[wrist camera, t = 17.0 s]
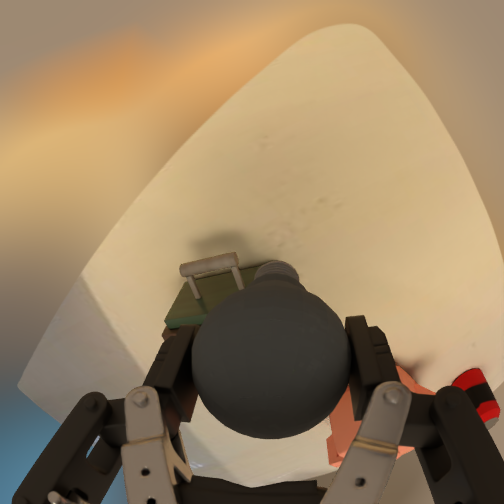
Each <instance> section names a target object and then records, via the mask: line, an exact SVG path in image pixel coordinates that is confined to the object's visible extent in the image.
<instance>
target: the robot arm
mask: <svg viewBox="0 0 504 504" xmlns="http://www.w3.org/2000/svg"><path fill="white" fill-rule="evenodd" d="M199 329H200V326H199V325H198V324H182V325H180V327H179V329H178V331H177V333H176V336H170V337H169V338H168V339H167V340H165V341H164V342H163V343H162V345H161V347H160V350H159V352H158V354H157V356H156V358H155V361H154V362H153V364H152V366H151V368H150V370H149V372H148V375H147V377H146V379H145V381H144V383H143V385H142V386H139V387H136V388H134V389H133V390H131V391H130V392H129V393H128V394H127V395H126V397H125V398H123V399H114V400H107V398H106V397H105V396H104V395H103V394H102V393H100V392H90V393H88V394H86V395H84V396H83V397H82V398H81V399H80V401H79V402H78V403H77V405H76V406H75V407H74V409H73V410H72V411H71V413H70V414H69V415H68V417H67V418H66V420H65V421H64V422H63V424H62V425H61V426H60V428H59V429H58V431H57V432H56V433H55V435H54V436H53V438H52V439H51V441H50V442H49V443H48V445H47V446H46V448H45V449H44V451H43V452H42V453H41V455H40V456H39V458H38V459H37V461H36V462H35V464H34V465H33V467H32V468H31V470H30V471H29V473H28V474H27V476H26V477H25V478H24V480H23V481H22V483H21V485H20V486H19V488H18V489H17V491H16V492H15V494H14V496H13V498H12V504H100V503H101V502H102V500H103V498H104V496H105V495H106V493H107V491H108V489H109V487H110V486H111V484H112V482H113V480H114V478H115V477H116V475H117V473H118V471H119V469H120V468H121V466H122V465H123V473H124V481H125V488H126V495H127V501H128V504H378V503H379V501H380V499H381V497H382V494H383V492H384V490H385V487H386V485H387V482H388V480H389V477H390V474H391V472H392V469H393V466H394V464H395V461H396V458H397V455H398V446H407V447H414V448H415V451H416V453H417V456H418V458H419V461H420V464H421V466H422V469H423V472H424V474H425V477H426V480H427V483H428V485H429V488H430V491H431V494H432V497H433V499H434V503H435V504H504V461H503V459H502V457H501V455H500V453H499V451H498V449H497V447H496V445H495V443H494V441H493V439H492V437H491V435H490V433H489V432H488V430H487V428H486V426H485V424H484V422H483V421H482V419H481V417H480V415H479V414H478V412H477V410H476V408H475V407H474V405H473V403H472V402H471V400H470V398H469V397H468V395H467V394H466V392H465V391H464V390H463V389H461V388H459V387H456V386H445V387H443V388H441V389H440V390H438V391H437V393H436V394H435V395H429V394H418V393H414V392H412V391H410V390H409V388H408V387H407V386H406V385H404V384H403V383H402V382H401V380H400V377H399V374H398V371H397V368H396V365H395V362H394V359H393V356H392V353H391V350H390V347H389V345H388V342H387V339H386V336H385V334H384V333H383V332H382V331H381V330H380V329H379V328H378V327H377V326H373V327H368V325H367V322H366V319H365V316H364V315H360V316H350V317H346V320H345V331H346V334H347V336H348V339H349V342H350V345H351V351H352V360H351V372H350V380H349V388H350V395H351V401H352V408H353V415H354V421H361V420H362V422H361V425H360V427H359V429H358V432H357V434H356V436H355V438H354V439H353V441H352V442H351V444H350V446H349V449H348V451H347V453H346V455H345V457H344V459H343V461H342V463H341V465H340V467H339V469H338V471H337V473H336V475H335V477H334V479H333V481H332V483H331V484H330V486H329V488H328V489H327V488H324V487H318V486H317V480H312V481H285V482H280V483H276V484H271V485H266V486H260V487H254V488H250V487H246V486H242V485H239V484H236V483H232V482H229V481H226V480H223V479H219V478H210V477H202V476H195V475H194V474H193V472H192V470H191V468H190V465H189V462H188V458H187V455H186V451H185V447H184V444H183V440H182V436H181V432H180V430H179V426H180V423H181V422H190V421H191V418H192V414H193V411H194V407H195V404H196V401H197V397H198V392H197V390H196V387H195V385H194V383H193V378H192V346H193V342H194V338H195V337H196V335H197V333H198V331H199ZM98 435H99V436H100V438H99V440H98V442H97V443H96V445H95V446H94V448H93V449H92V451H91V453H90V454H89V456H88V457H87V459H86V454H87V452H88V450H89V449H90V447H91V446H92V444H93V442H94V441H95V439H96V438H97V436H98Z"/></svg>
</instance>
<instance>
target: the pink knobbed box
mask: <svg viewBox="0 0 504 504" xmlns="http://www.w3.org/2000/svg"><path fill="white" fill-rule="evenodd" d="M396 368H397V371H398V374H399V377H400V380H401V382H402V383H403V384H404V385H406V386H407V387H408V388H409V390H410V391H412V392H414V393H418V394H429V395H435V394H436V393H434V392H432V391H430V390H428V389H426V388H424V387H422V386H420V385H418V384H417V383H416V382H415V381H414V380H413V379H412V378H411V377H410V376H409V375H408V374H407V373H406V372H405V371H404V370H403V369H402V368H401V367H399V366H396ZM361 422H362V420H361V421H354V415H353V408H352V401H351V395H350V388H349V387H347V389H346V391H345V393H344V394H343V396H342V398H341V399H340V401H339V402H338V404H337V406H336V407H335V409H334V410H333V412H332V413H331V414H330V423H331V430H332V435H331V436H330V437H329V438H327V439H326V441H327V449H328V458H329V465H332V466H334V467H339V466H340V465H341V463H342V461H343V459H344V457H345V455H346V453H347V451H348V449H349V446H350V444H351V442H352V441H353V439H354V438H355V436H356V434H357V432H358V429H359V427H360V425H361ZM413 449H415V448H414V447H407V446H398V455H397V458H399V457H400V456H401V455H403V454H405V453H407V452H409V451H411V450H413ZM397 458H396V459H397Z"/></svg>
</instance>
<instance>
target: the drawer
mask: <svg viewBox="0 0 504 504" xmlns="http://www.w3.org/2000/svg"><path fill="white" fill-rule="evenodd" d="M238 264H239V261H238V256H237V254H236V252H230V253H226V254H222V255H218V256H214V257H209V258H205V259H201V260H197V261H192V262H188V263H184V264H181V265H180V268H179V269H180V274H181V275H182V277H186V278H187V281H188V282H185V283H184V285H183V287H182V289H181V290H180V292H179V294H178V296H177V298H176V299H175V301H174V303H173V305H172V307H171V309H170V310H169V312H168V314H167V316H166V318H165V320H164V321H165V323H166V325H167V327H168V328H169V329H172V328H179V327H180V325H182V324H198V325H199V326H201V325H202V323H203V321H204V319H205V317H206V316H207V314H208V313H209V312H210V311H211V310H212V309H213V308H214V307H215V306H216V305H218V304H219V303H220V302H221V301H222V300H224V299H225V298H226V297H227V296H229V295H230V294H232V293H234V292H237V291H239V290H242V289H245V288H246V287H247V286H248V285H249V284H250V283H251V282H252V281H253V280H254V277H255V274H256V272H257V270H258V269H259V268H260V267H261V266H258V267H253V268H249V269H244V270H239V268H238ZM229 267H231V270H232V272H230V273H226V274H221V275H216V276H212V277H207V278H202V279H197V280H195V279H194V277H193V275H197V274H202V273H206V272H211V271H215V270H220V269H224V268H229Z"/></svg>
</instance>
